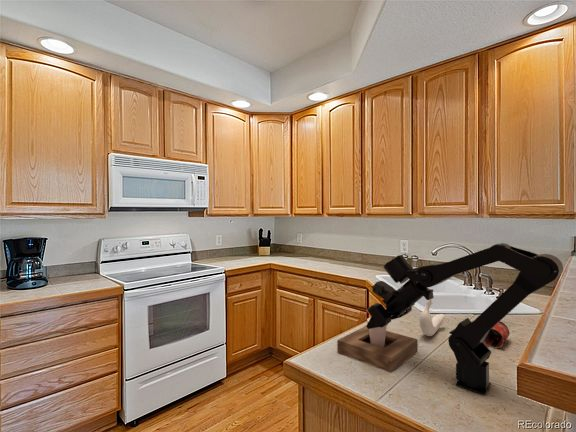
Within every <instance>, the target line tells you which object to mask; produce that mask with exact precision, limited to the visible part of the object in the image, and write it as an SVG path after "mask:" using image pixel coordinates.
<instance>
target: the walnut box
mask: <svg viewBox="0 0 576 432" xmlns="http://www.w3.org/2000/svg"><path fill="white" fill-rule="evenodd" d="M336 341H337V342H336V343H337V344H336V346H337V348H336V349H337V351H336V352H337V354H340V355H343V356H345V357H349V358H351V359H354V360H356V361H359V362H362V363H365V364H367V365H370V366H374V367H376V368H378V369H381V370H384V371H386V372H390V373H393V372H394V371H395V370H397V369H398V368H399V367H400V366H401V365H403V364H404V363H405V362H407V361H408V360H410V359H411V358H412V357H413V356H414V355H416V353H418V344H419V343H418V342H419V341H418V339H417V338H415V337H410V336H408V335H407V336H406V335H403V334H400V333H397V332H392V331H388V330H386V337H385V346H384V348H382V347H379V346H376V345H373V344H371V341H370V334H369V329H368V328H367V327H366V325H364V326H363V327H360V328H359V329H357V330H354V331H353V332H351V333H349V334H347V335H345V336H343V337H340V338H339V339H337V340H336Z"/></svg>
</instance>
